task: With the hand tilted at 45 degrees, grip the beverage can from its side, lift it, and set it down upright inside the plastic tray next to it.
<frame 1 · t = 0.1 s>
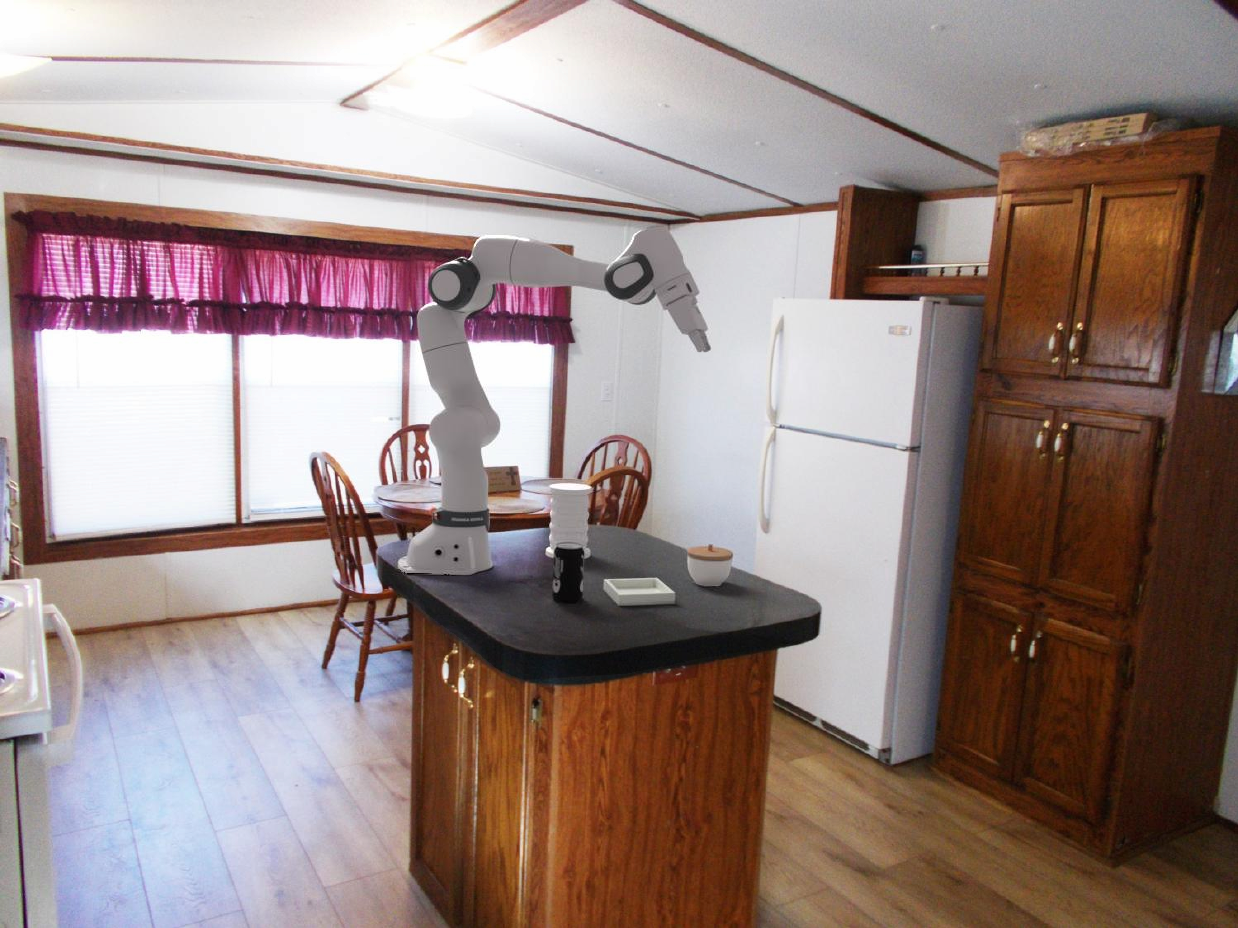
hand: (705, 351, 202), 54 cm above the countertop, tool tilted 30°, fingers open, 8 cm apart
decorative container: (567, 555, 237), on the countertop
tray: (638, 596, 201), on the countertop
lidded jar: (708, 584, 215), on the countertop
beverage can: (567, 600, 197), on the countertop
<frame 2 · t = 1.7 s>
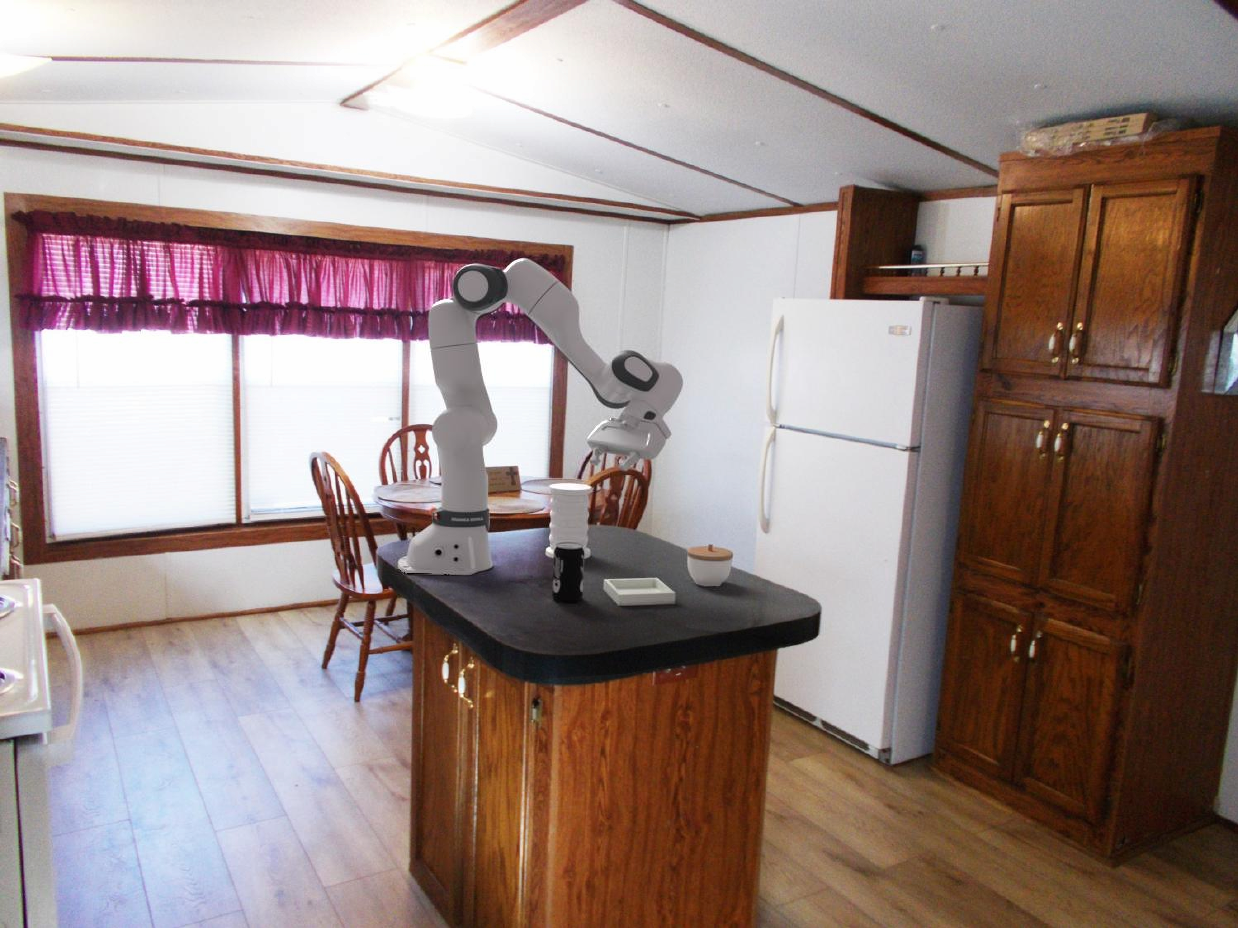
hand: (607, 466, 206), 27 cm above the countertop, tool tilted 45°, fingers open, 8 cm apart
nothing on the countertop moved.
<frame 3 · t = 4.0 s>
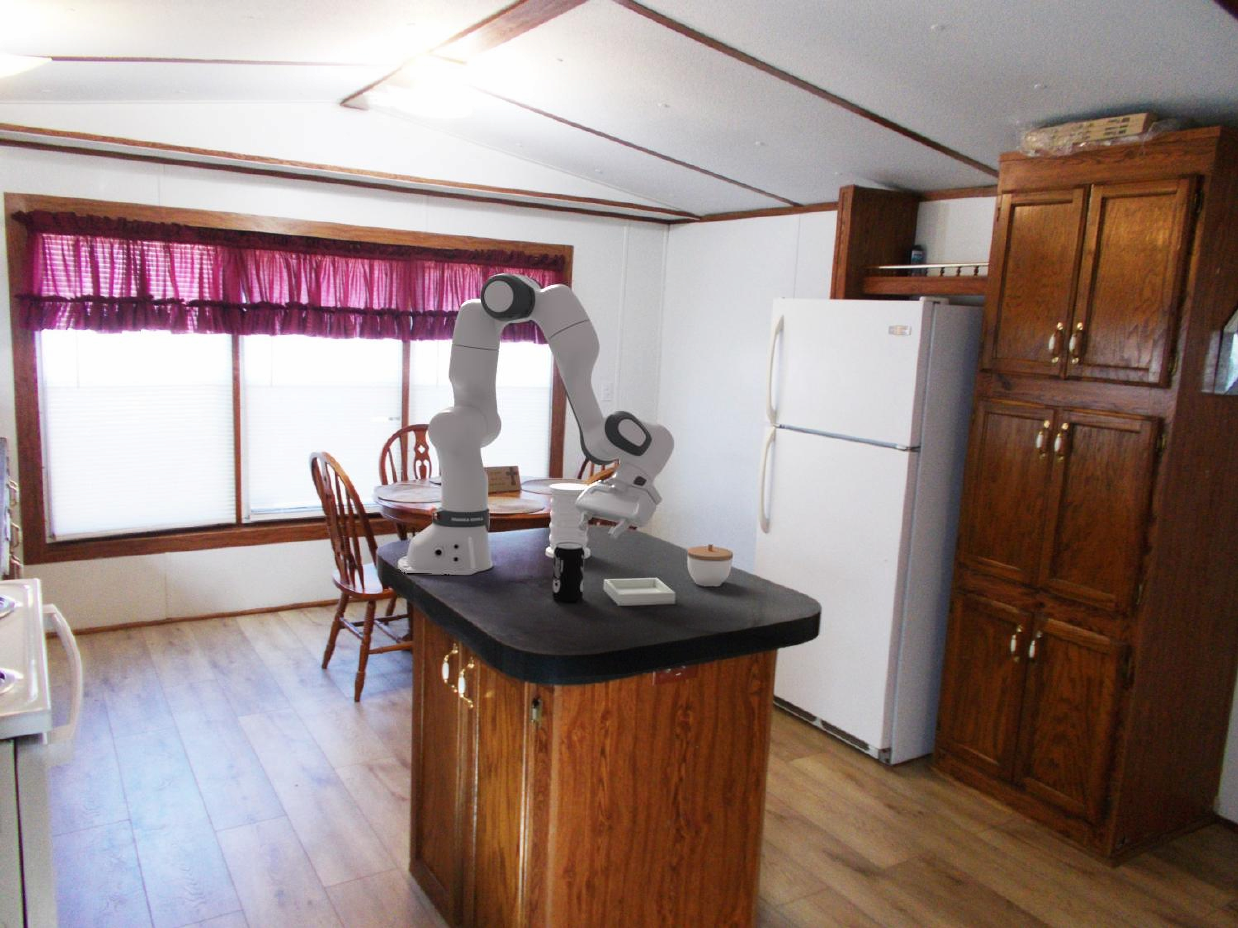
hand: (595, 533, 200), 14 cm above the countertop, tool tilted 45°, fingers open, 8 cm apart
nothing on the countertop moved.
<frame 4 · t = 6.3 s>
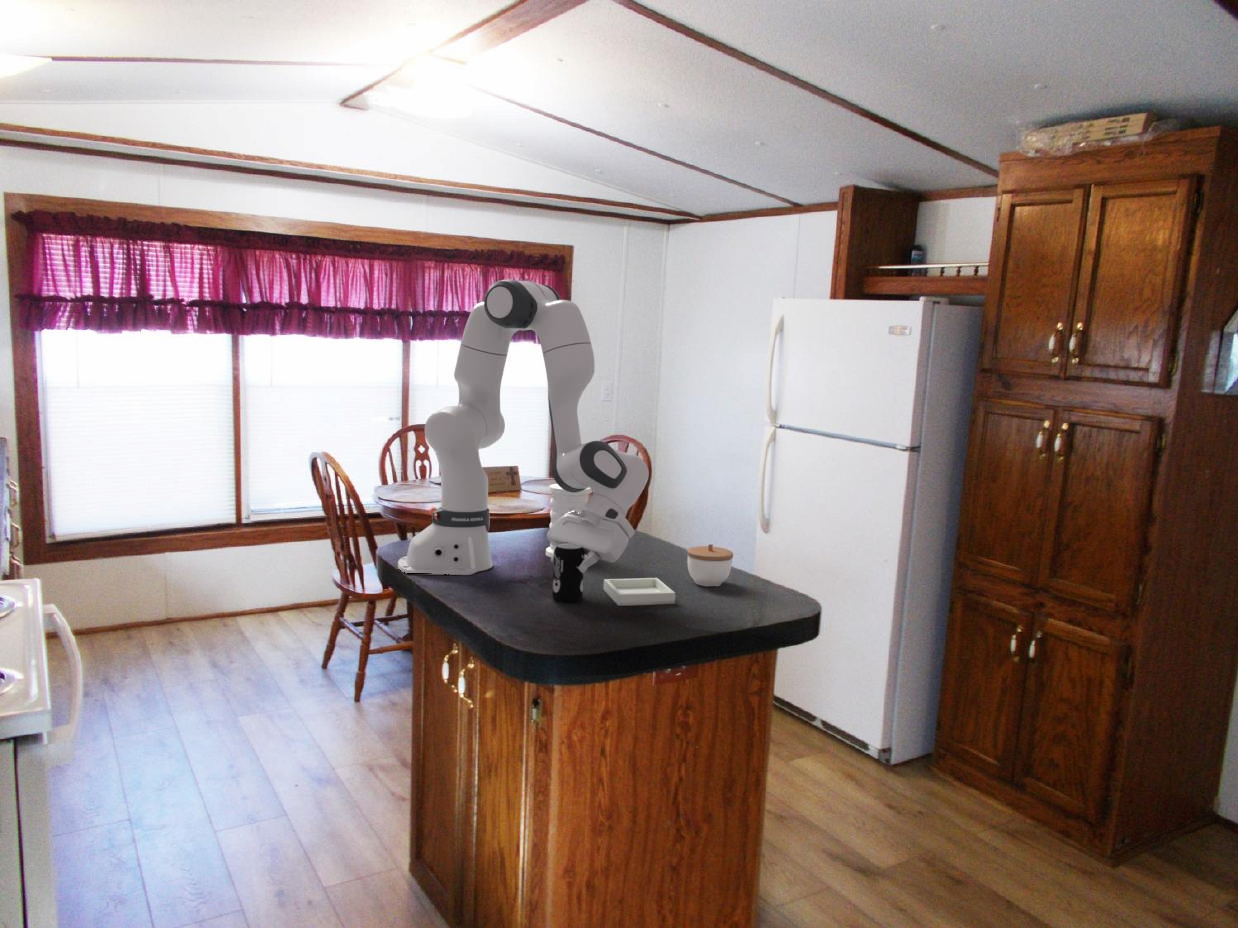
hand: (566, 566, 195), 7 cm above the countertop, tool tilted 45°, fingers closed on beverage can, 6 cm apart
beverage can: (567, 599, 197), on the countertop, touching gripper
everything else where it was.
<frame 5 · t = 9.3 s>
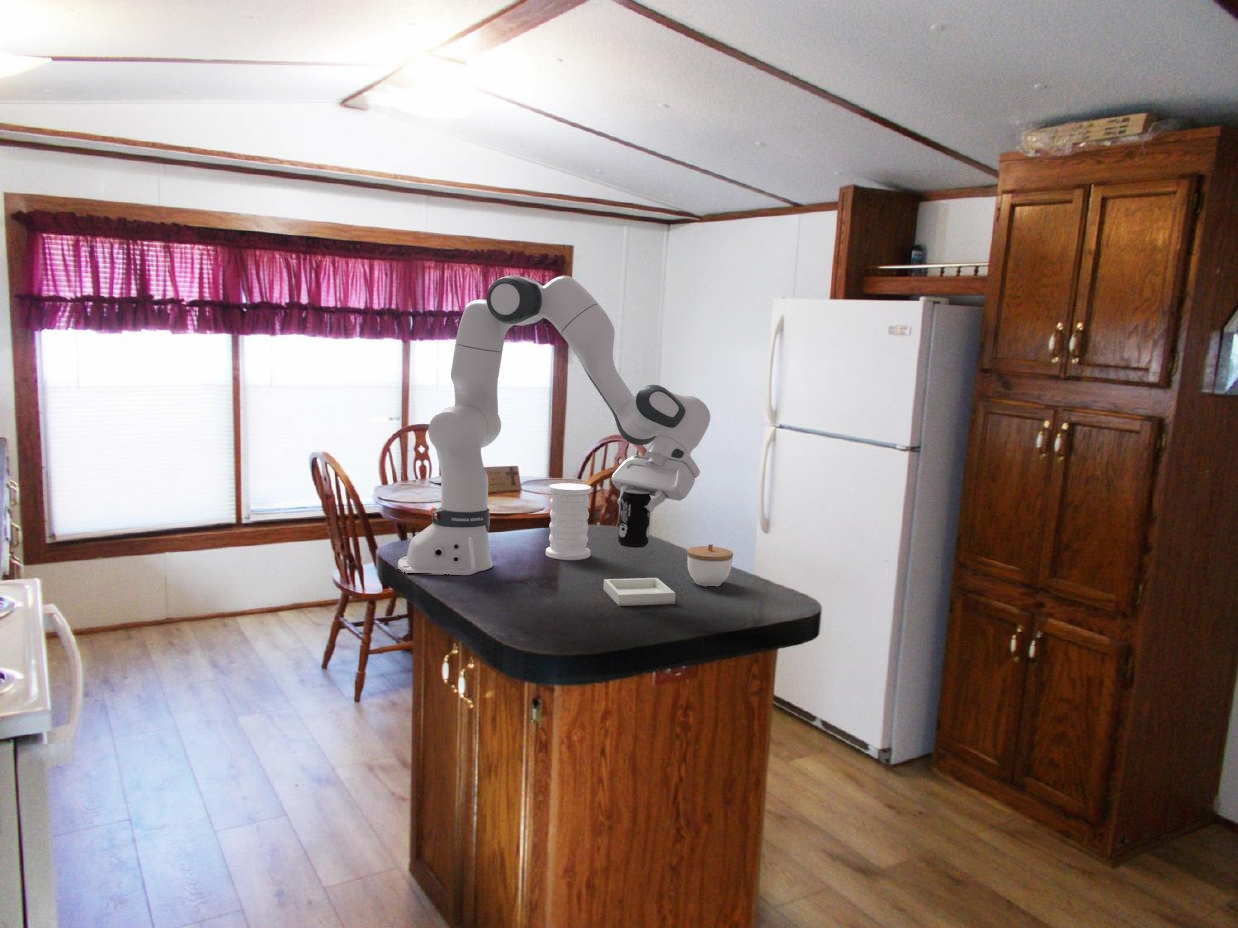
hand: (633, 507, 197), 20 cm above the countertop, tool tilted 45°, fingers closed on beverage can, 6 cm apart
beverage can: (632, 546, 198), point 12 cm above the countertop, touching gripper
everything else where it was.
when the fingers open (9 cm above the countertop, at t = 12.5 s): beverage can stays where it is, resting on tray.
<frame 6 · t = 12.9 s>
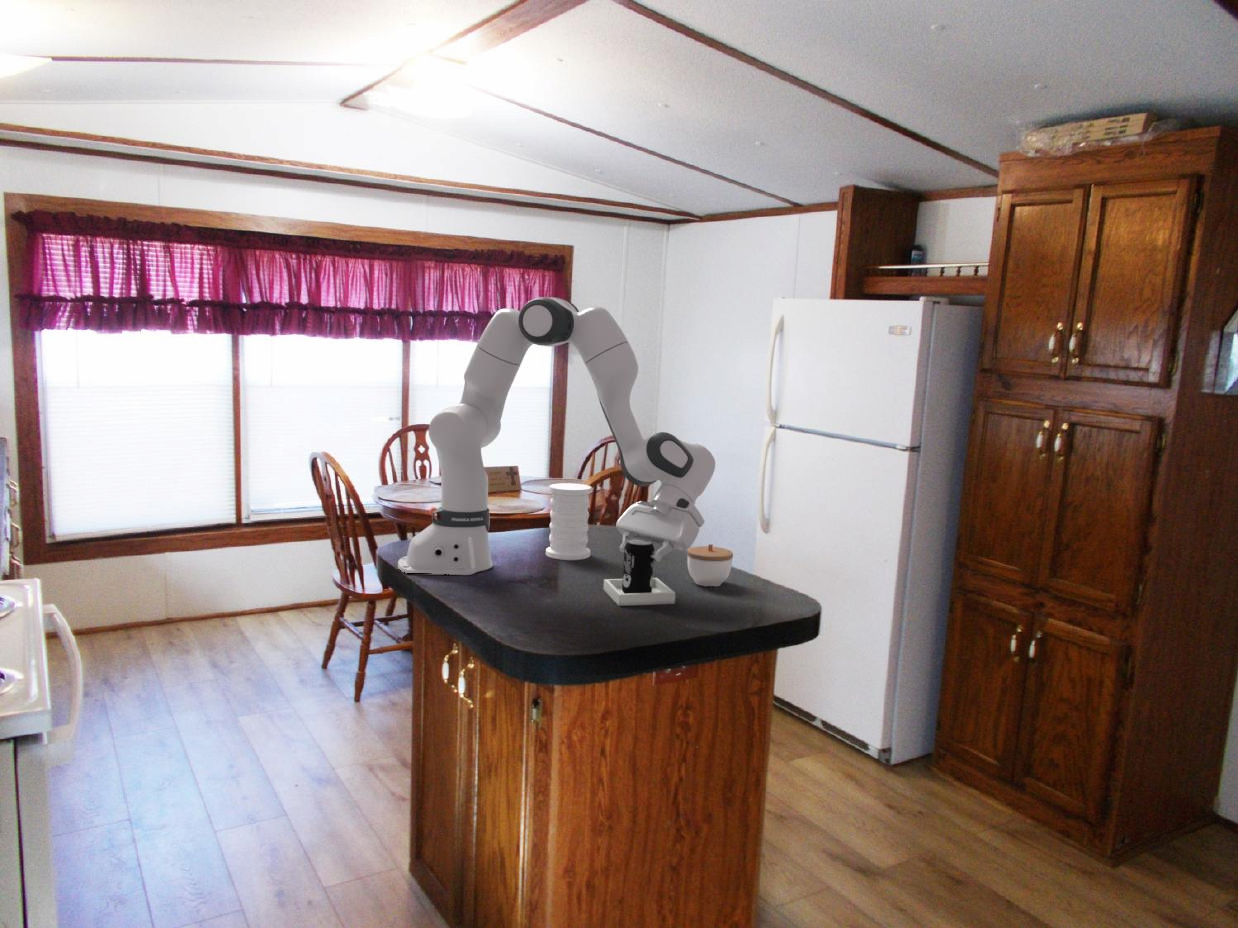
hand: (638, 555, 199), 9 cm above the countertop, tool tilted 45°, fingers open, 8 cm apart
beverage can: (636, 594, 201), resting on tray
everything else where it was.
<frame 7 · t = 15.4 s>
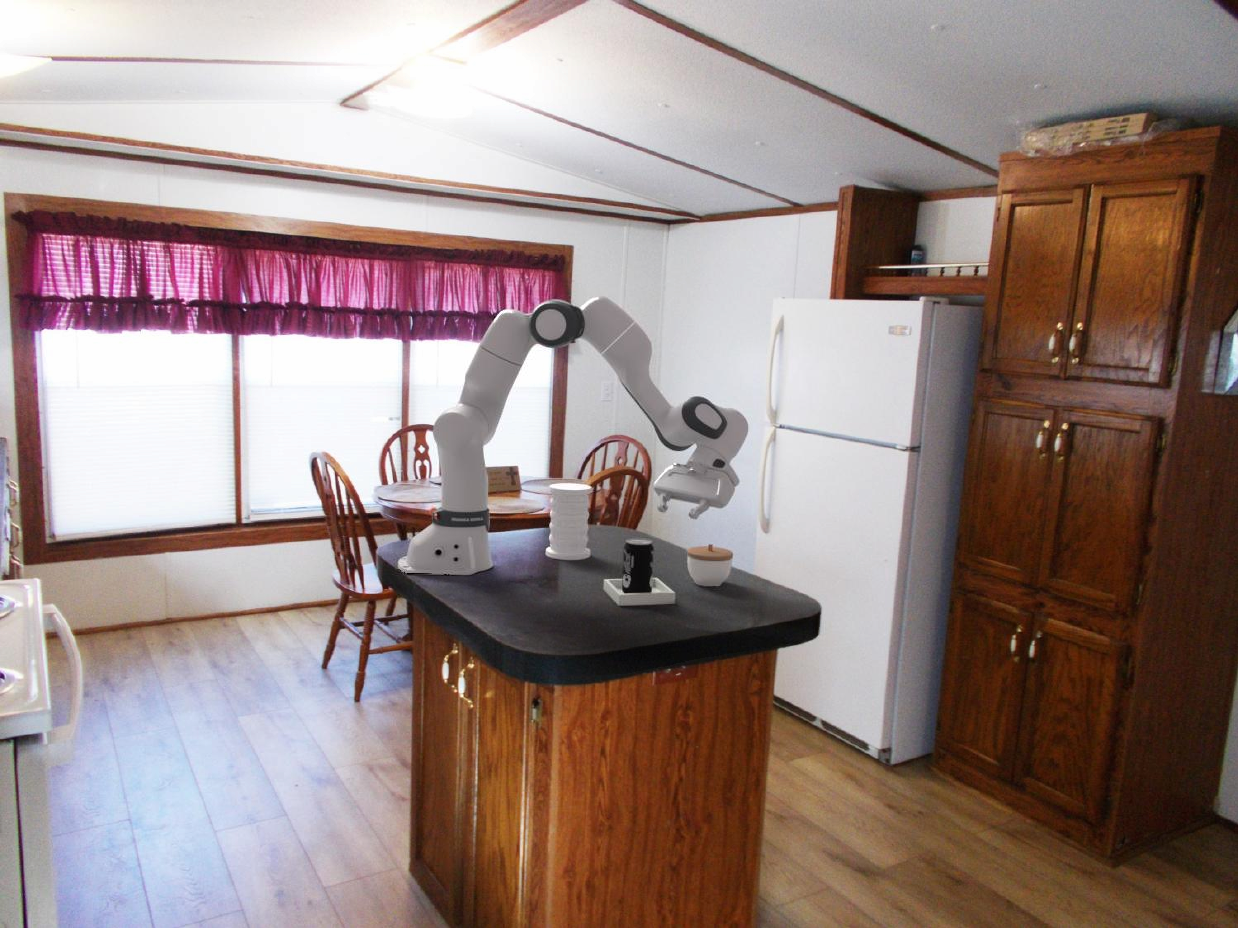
hand: (676, 514, 207), 17 cm above the countertop, tool tilted 45°, fingers open, 8 cm apart
nothing on the countertop moved.
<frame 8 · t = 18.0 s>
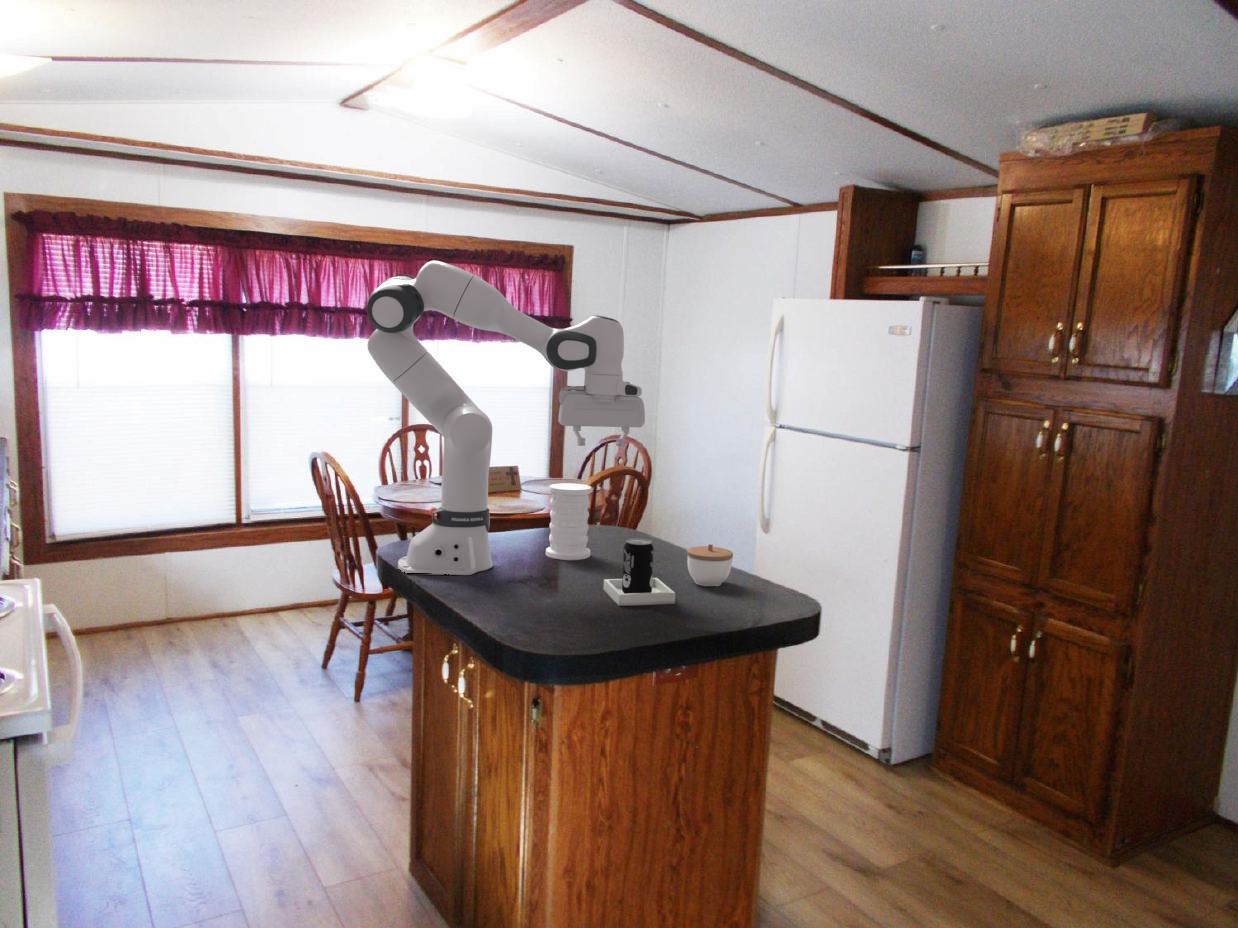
hand: (600, 445, 214), 31 cm above the countertop, tool pointing down, fingers open, 8 cm apart
nothing on the countertop moved.
at the end: beverage can 0.5 cm off-centre on the tray, point 0.4 cm above the tray's base; beverage can tilted 0°; the gripper is holding nothing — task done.
